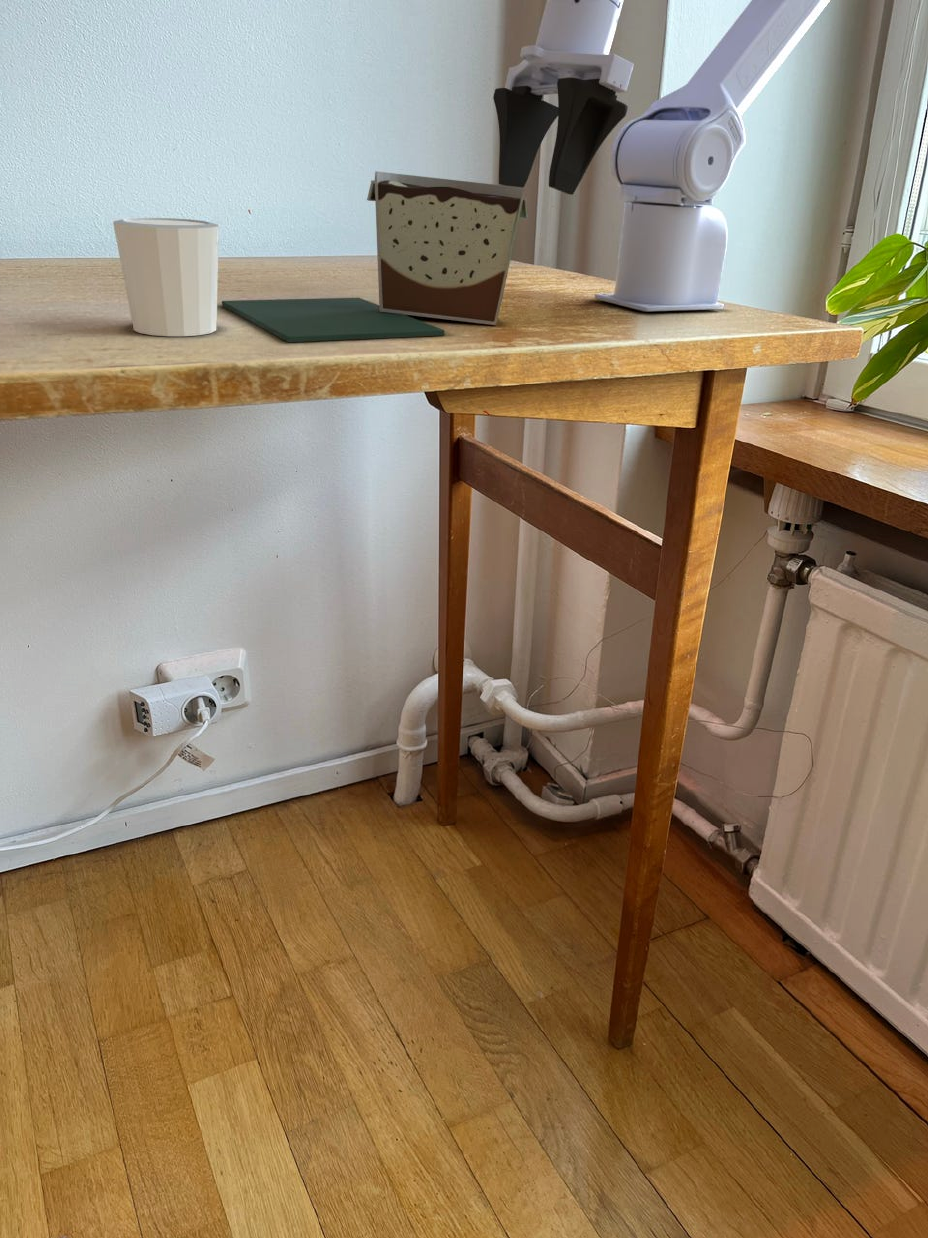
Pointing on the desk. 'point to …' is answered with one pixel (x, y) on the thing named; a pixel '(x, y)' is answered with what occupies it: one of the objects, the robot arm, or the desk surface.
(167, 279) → the white cup
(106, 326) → the desk surface
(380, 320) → the mat
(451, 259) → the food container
